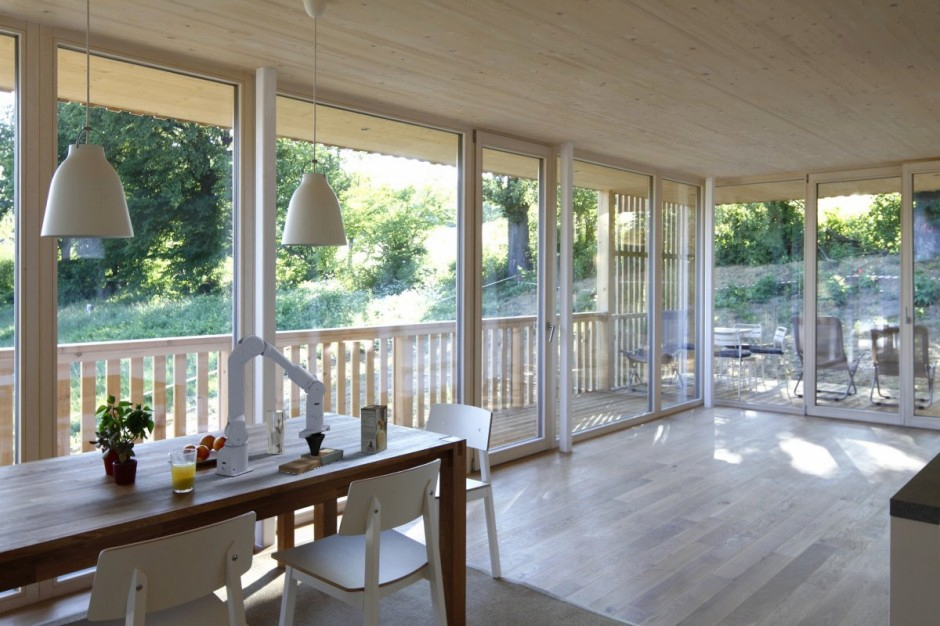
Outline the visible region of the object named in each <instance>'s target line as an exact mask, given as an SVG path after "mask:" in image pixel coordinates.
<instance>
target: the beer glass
mask: <svg viewBox="0 0 940 626" xmlns="http://www.w3.org/2000/svg"><path fill="white" fill-rule="evenodd" d="M265 413H266V414H265V431H266V437H267V449H266V454H267V453H268V455H271V454H278V455H282V454H281V453H283V454H284V453H285V445H284V440H285V434H286V428H287V420H286V419H287V418H286V410H285V409H280V408H279V409H267V410H266V411H265Z"/></svg>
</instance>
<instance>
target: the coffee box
mask: <svg viewBox="0 0 940 626" xmlns="http://www.w3.org/2000/svg"><path fill="white" fill-rule="evenodd" d="M386 449H387V450H388V405H384V404H383V405H381V404H370V405H367V406H364V407H362V408H360V453H361V452H363V454H372V455H374V454H375V455H377V454H379V453H381V452H383V451H384V450H386Z"/></svg>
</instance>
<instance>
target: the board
mask: <svg viewBox="0 0 940 626" xmlns="http://www.w3.org/2000/svg"><path fill="white" fill-rule="evenodd" d="M320 466H322V460H315V459H308V458H301V457H300V458H298V459H293V460H291V461H289V462H286V463H282V464H280V465H278V472H279V471H282V472H281V473H283V472H289V473H295V474H294V475H296V474H300V475H302V474H305V473H307V472H306V471H308V472H310V471H309V470H311V471H313V470H315V469H314V468H316V469H318V468H317V467H319V468H321V467H320ZM322 467H323V466H322ZM312 469H313V470H312ZM304 472H305V473H304ZM289 473H288V474H289ZM301 473H302V474H301Z"/></svg>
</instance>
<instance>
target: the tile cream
mask: <svg viewBox="0 0 940 626" xmlns="http://www.w3.org/2000/svg"><path fill="white" fill-rule="evenodd" d="M331 449H332V448H331ZM331 449H324V450H321V451H320V452H328V454H330V453H333V452H335V450H331Z"/></svg>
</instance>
